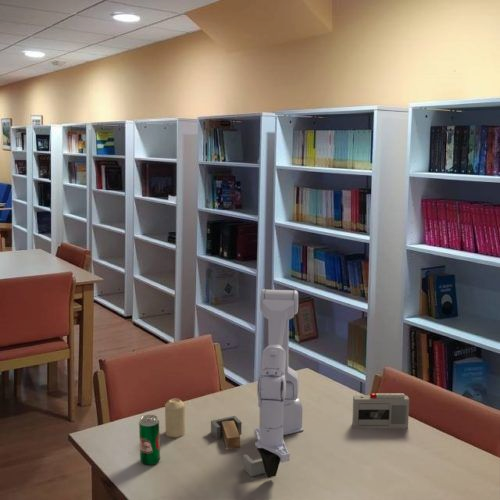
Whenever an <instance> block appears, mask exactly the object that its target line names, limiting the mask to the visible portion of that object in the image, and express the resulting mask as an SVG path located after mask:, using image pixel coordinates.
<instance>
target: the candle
mask: <svg viewBox="0 0 500 500" xmlns="http://www.w3.org/2000/svg"><path fill="white" fill-rule="evenodd" d="M185 405H186V404H185V402H183V401H182V400H181V399H180V398H177V397H174V398H171V399H169V400H168V401H167V402H166V403H165V404H164V418H165V419H164V420H165V421H164V422H165V425H164V426H165V436H167V437H169V438H180V437H182V436H184V435H185V433H186V410H185V409H186V406H185Z"/></svg>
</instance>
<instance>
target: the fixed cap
mask: <svg viewBox="0 0 500 500" xmlns="http://www.w3.org/2000/svg"><path fill="white" fill-rule="evenodd" d="M223 421H234V422H235V425H236V427H237V430H238V433H239V435H240V434H241V435H242V434H243V433H242V421H241V420H240V419H239V418H238V417H237V416H236V415H231V416H227V417H221V418H218V419H213V420H210V433H211V434H212V435H213V437H215V439H217V440H220V439H221V433H222V422H223Z"/></svg>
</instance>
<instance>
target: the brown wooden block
mask: <svg viewBox="0 0 500 500" xmlns="http://www.w3.org/2000/svg"><path fill="white" fill-rule="evenodd" d="M221 434H222V436H223V440H224V443H225V446H226V449H227V450H236V449H241V435H240V434H239V433H238V430H237V427H236V425H235V422H234V421H223V422H222V432H221Z"/></svg>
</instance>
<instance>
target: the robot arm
mask: <svg viewBox="0 0 500 500" xmlns="http://www.w3.org/2000/svg"><path fill="white" fill-rule="evenodd" d="M259 299H260V300H259V308H260V312H261V313H262V315H263V317H264V319H267V323H268V326H267V327H268V329H267V330H268V332H267V336H268V339H267V342H268V345H267V346H266V347H264V349H263V351H262V358H261V369H260V376H259V377H258V379H257V387H256V392H257V394H256V395H257V401H258V408H259V427H258V428H254V431H253V432H254V433H253V436H254V437H255V438H257V441H256V442H255V447H256V449H257V451H258V453H259V455H260V459H262V461H263V465H264V469H265V473H264V474H265V475H266V477H267V478H268V479H269V478H270V479H271V478H273V477H276V476H277V473H278V470H279V466H280V464H281V463H286V462H290V460H291V459H290V458H291V457H290V454H291V453H290V452H289V451H288V448H287V446H286V443H285V441H284V436H287V435H290V434H295V433H299V432H303V431H304V428H303V405H302V401H301V400H300V399H299V374H298V372H297V371H296V370H294V369H293V368H291V367H290V366H289V349H290V348H289V347H290V346H289V338H290V337H289V336H290V335H289V334H290V333H289V332H290V330H289V329H290V326H289V324H290V322H289V321H290V320H292V319H293V318H295V315H297V314H298V313H299V312H298V311H299V292H298V290H296V289H294V290H293V289H292V290H290V289H282V290H281V289H266V288H263V289H262V290H261V291H260V297H259Z"/></svg>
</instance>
